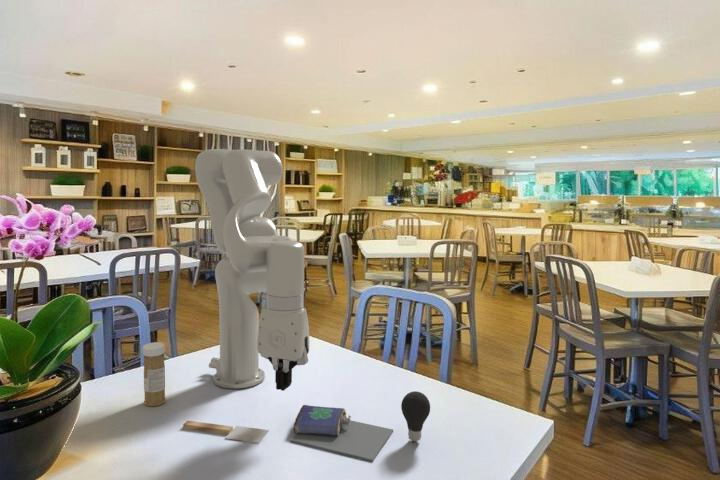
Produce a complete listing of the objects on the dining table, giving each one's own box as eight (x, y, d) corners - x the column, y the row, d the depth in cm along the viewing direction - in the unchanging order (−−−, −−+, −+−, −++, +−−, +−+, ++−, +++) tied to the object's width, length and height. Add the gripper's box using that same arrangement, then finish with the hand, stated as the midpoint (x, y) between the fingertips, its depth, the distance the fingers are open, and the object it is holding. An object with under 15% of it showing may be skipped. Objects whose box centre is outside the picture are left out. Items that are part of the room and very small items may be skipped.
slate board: (290, 441, 94) (290, 439, 94) (318, 415, 105) (318, 413, 105) (372, 461, 87) (372, 459, 87) (393, 431, 99) (393, 429, 98)
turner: (178, 432, 96) (178, 428, 96) (192, 421, 101) (192, 416, 101) (258, 444, 93) (258, 439, 93) (268, 431, 98) (268, 426, 97)
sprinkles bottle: (145, 399, 110) (144, 342, 109) (166, 397, 112) (165, 340, 110) (142, 408, 106) (141, 348, 105) (165, 406, 107) (163, 347, 106)
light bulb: (421, 452, 91) (423, 401, 90) (395, 443, 94) (396, 394, 93) (433, 439, 96) (435, 391, 95) (407, 431, 99) (409, 384, 98)
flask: (293, 435, 96) (347, 438, 94) (293, 421, 95) (347, 424, 94) (304, 414, 105) (353, 417, 103) (304, 401, 104) (353, 403, 103)
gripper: (243, 301, 98) (242, 387, 100) (308, 311, 92) (306, 402, 95) (263, 293, 105) (262, 374, 107) (326, 302, 99) (323, 387, 102)
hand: (283, 387), depth 101 cm, fingers closed
